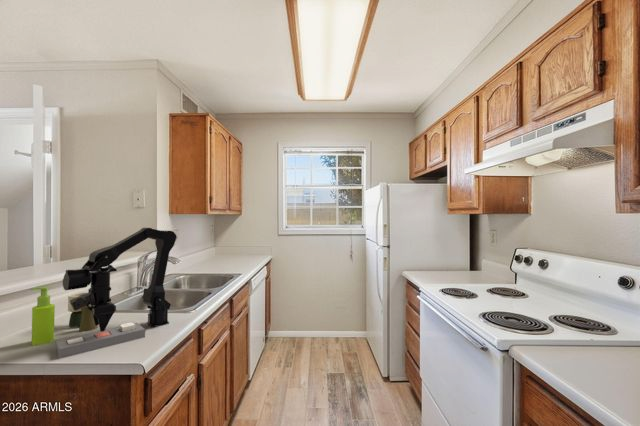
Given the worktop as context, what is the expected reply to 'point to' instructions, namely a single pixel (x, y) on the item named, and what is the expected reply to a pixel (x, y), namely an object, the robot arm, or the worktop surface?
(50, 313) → the soap dispenser
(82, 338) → the button
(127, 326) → the button
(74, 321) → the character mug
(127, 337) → the button panel
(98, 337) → the red button
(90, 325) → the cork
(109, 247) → the robot arm
